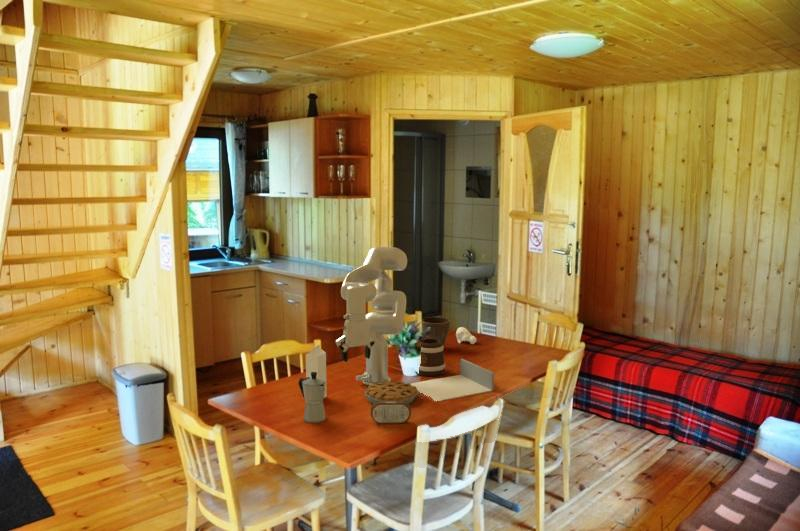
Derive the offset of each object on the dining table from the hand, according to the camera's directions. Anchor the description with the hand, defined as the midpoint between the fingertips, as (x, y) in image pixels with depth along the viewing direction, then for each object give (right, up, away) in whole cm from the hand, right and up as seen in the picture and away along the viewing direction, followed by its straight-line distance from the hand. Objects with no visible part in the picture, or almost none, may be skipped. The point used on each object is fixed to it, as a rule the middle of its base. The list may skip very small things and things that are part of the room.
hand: (356, 359), depth 243 cm
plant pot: (+36, -8, +86) cm, 94 cm away
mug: (+30, -13, +48) cm, 58 cm away
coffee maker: (-16, -21, -11) cm, 28 cm away
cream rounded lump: (+54, -6, +99) cm, 113 cm away
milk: (-17, -18, +11) cm, 27 cm away
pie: (+14, -18, +10) cm, 25 cm away
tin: (+14, -21, -16) cm, 30 cm away
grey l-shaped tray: (+39, -16, +23) cm, 48 cm away
